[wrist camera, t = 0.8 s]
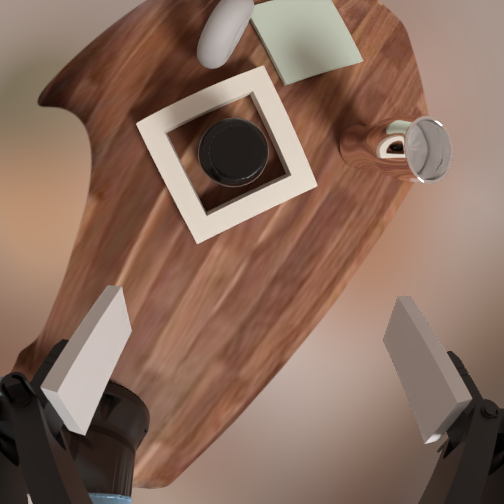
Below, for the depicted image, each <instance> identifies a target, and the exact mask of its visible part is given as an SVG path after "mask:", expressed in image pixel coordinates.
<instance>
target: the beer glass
mask: <svg viewBox="0 0 504 504" xmlns="http://www.w3.org/2000/svg"><path fill="white" fill-rule="evenodd" d="M339 148H340V153H341V156H342V158H343V159H344V161H345V162H346V163H347V164H348V165H350V166H351V167H353V168H357V169H364V168H369V167H371V168H373V169H375V170H377V171H379V172H381V173H383V174H385V175H387V176H390V177H392V178H395V179H399V180H403V181H409V182H419V183H427V184H434V183H437V182H439V181H441V180H442V179H443V178H444V177H445V176H446V175H447V174H448V172H449V170H450V167H451V164H452V160H453V146H452V141H451V137H450V135H449V133H448V131H447V129H446V128H445V126H444V125H443V124H442V123H441V122H440V121H439V120H437V119H436V118H434V117H431V116H410V115H408V116H396V117H391V118H388V119H385V120H382V121H380V122H378V123H375V124H373V125H371V126H368V127H367V126H363V125H353V126H350V127H348V128H347V129H346V130H345V131H344V132H343V134H342V135H341V138H340V142H339Z"/></svg>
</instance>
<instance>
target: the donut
mask: <svg viewBox="0 0 504 504" xmlns="http://www.w3.org/2000/svg"><path fill="white" fill-rule="evenodd" d="M253 10H254V2H253V0H221V1H220V2H219V3H218V5H217V6H216V7H215V9H214V10H213V12H212V14H211V15H210V17H209V19H208V21H207V23H206V25H205V27H204V29H203V31H202V34H201V36H200V39H199V42H198V46H197V58H198V60H199V62H200V63H201V64H202V65H203V66H204V67H206V68H210V69H213V68H218V67H220V66H222V65H223V64H224V63H226V61H227V60H228V58H229V57H230V56H231V54H232V52H233V51H234V49H235V47H236V45H237V44H238V42H239V40H240V38H241V36H242V34H243V32H244V30H245V28H246V26H247V24H248V22H249V20H250V18H251V15H252V13H253Z"/></svg>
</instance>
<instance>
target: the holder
mask: <svg viewBox="0 0 504 504" xmlns="http://www.w3.org/2000/svg"><path fill="white" fill-rule="evenodd" d="M248 95H250V96H251V98H252V101H253V103H254V105H255V107H256V109H257V111H258V113H259V115H260V117H261V119H262V122H263V124H264V126H265V128H266V130H267V132H268V134H269V137H270V139H271V141H272V143H273V145H274V148H275V150H276V152H277V154H278V157H279V159H280V161H281V163H282V166H283V168H284V170H285V173H286V174H285V175H283V176H280V177H278V178H276V179H274V180H272V181H270V182H267V183H265V184H263V185H261V186H259V187H257V188H255V189H253V190H250V191H248V192H246V193H244V194H242V195H240V196H238V197H236V198H234V199H232V200H230V201H228V202H226V203H224V204H222V205H220V206H217V207H215V208H213V209H211V210H209V211H207V212H206V210H205V208H204V206H203V204H202V202H201V201H200V199H199V197H198V195H197V193H196V191H195V189H194V187H193V185H192V183H191V181H190V179H189V177H188V175H187V173H186V171H185V169H184V167H183V165H182V163H181V161H180V159H179V157H178V155H177V153H176V151H175V149H174V147H173V144H172V142H171V140H170V138H169V136H168V134H167V133H168V132H170V131H172V130H174V129H176V128H178V127H180V126H182V125H184V124H186V123H188V122H190V121H192V120H194V119H196V118H198V117H200V116H202V115H204V114H207V113H209V112H211V111H213V110H215V109H218V108H220V107H222V106H224V105H227V104H229V103H231V102H234V101H236V100H238V99H241V98H243V97H246V96H248ZM136 125H137V127H138V129H139V131H140V133H141V135H142V137H143V139H144V141H145V144H146V146H147V148H148V150H149V152H150V154H151V156H152V158H153V160H154V162H155V164H156V166H157V168H158V170H159V172H160V174H161V176H162V178H163V180H164V182H165V184H166V186H167V187H168V189H169V191H170V193H171V195H172V197H173V199H174V201H175V203H176V205H177V207H178V209H179V211H180V213H181V214H182V216H183V218H184V220H185V222H186V224H187V226H188V228H189V230H190V231H191V233H192V235H193V237H194V239H195V241H196V243H197V244H198V243H200V242H202V241H204V240H206V239H208V238H210V237H212V236H214V235H216V234H218V233H220V232H223V231H225V230H227V229H229V228H231V227H233V226H235V225H237V224H239V223H241V222H243V221H245V220H247V219H249V218H251V217H253V216H255V215H257V214H259V213H261V212H263V211H266V210H268V209H270V208H272V207H274V206H276V205H278V204H280V203H282V202H284V201H287V200H289V199H291V198H293V197H295V196H297V195H299V194H301V193H304V192H306V191H308V190H310V189H312V188H314V187H316V186H317V183H316V181H315V178H314V176H313V173H312V171H311V168H310V166H309V163H308V161H307V159H306V156H305V154H304V151H303V149H302V147H301V144H300V142H299V140H298V138H297V135H296V133H295V131H294V128H293V126H292V124H291V122H290V120H289V117H288V115H287V113H286V111H285V109H284V107H283V104H282V102H281V100H280V98H279V96H278V94H277V92H276V90H275V88H274V86H273V83H272V81H271V79H270V77H269V75H268V73H267V71H266V69H265V67H264V66H261V67H258V68H255V69H252V70H250V71H247V72H244V73H242V74H239V75H237V76H234V77H232V78H229V79H227V80H224V81H222V82H219V83H217V84H215V85H212V86H210V87H208V88H205V89H203V90H201V91H199V92H197V93H194V94H192V95H190V96H188V97H186V98H184V99H182V100H180V101H178V102H176V103H174V104H171V105H170V106H168V107H166V108H164V109H162V110H160V111H158V112H156V113H154V114H152V115H150V116H148V117H147V118H145V119H143V120H141V121H139V122H138V123H136Z"/></svg>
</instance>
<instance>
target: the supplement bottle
mask: <svg viewBox="0 0 504 504" xmlns="http://www.w3.org/2000/svg"><path fill="white" fill-rule="evenodd" d="M268 157H269V147H268V142H267V140H266V137H265V135H264V134H263V132H262V131H261V130H260V129H259V128H258V127H257V126H256V125H255V124H253V123H252V122H250V121H248V120H245V119H241V118H227V119H223V120H220V121H218V122H216V123H214V124H213V125H211V126H210V127H209V128H208V129H207V130H206V131H205V133H204V134H203V136H202V138H201V140H200V142H199V146H198V159H199V163H200V166H201V168H202V170H203V171H204V173H205V174H206V175H207V176H208V177H209V178H210V179H211V180H212V181H214V182H216V183H217V184H220V185H223V186H227V187H240V186H244V185H247V184H249V183H251V182H252V181H254V180H255V179H257V178H258V177H259V176H260V175H261V173H262V172H263V170H264V169H265V167H266V165H267V162H268Z"/></svg>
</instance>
